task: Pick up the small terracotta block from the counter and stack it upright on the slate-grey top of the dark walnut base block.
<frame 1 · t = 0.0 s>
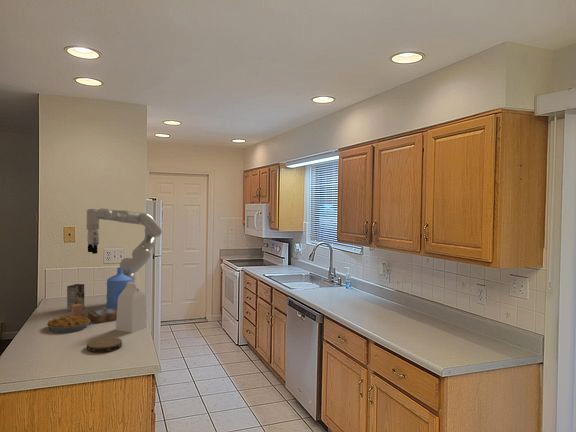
hand: (92, 252, 294), 37 cm above the table, tool pointing down, fingers open, 9 cm apart
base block: (105, 318, 268), on the table
pie: (69, 328, 248), on the table
terracotta block: (76, 316, 272), on the table
water jug: (119, 310, 289), on the table
milk: (131, 329, 249), on the table
brown round disc: (104, 348, 216), on the table
coffee box: (75, 309, 288), on the table
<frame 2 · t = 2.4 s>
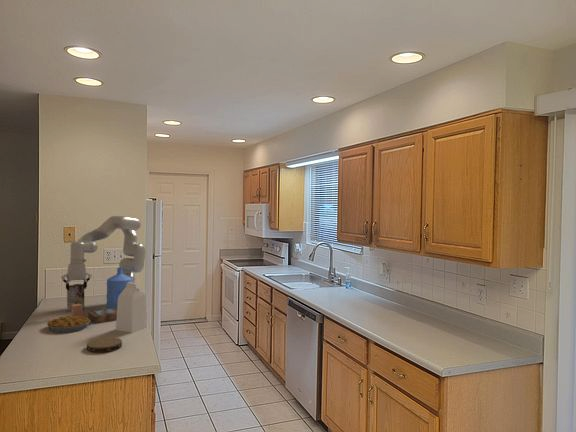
hand: (76, 289, 271), 17 cm above the table, tool pointing down, fingers open, 9 cm apart
nothing on the table moved.
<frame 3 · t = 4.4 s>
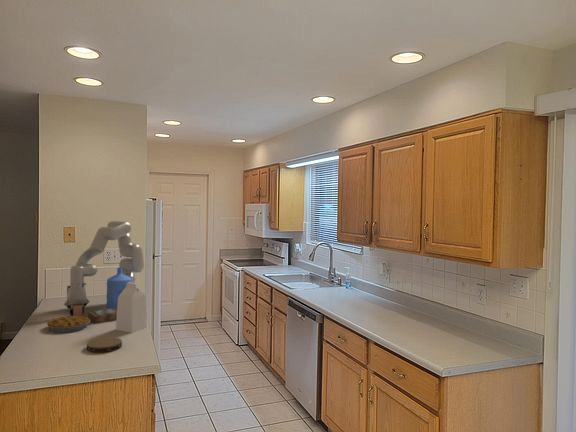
hand: (76, 314, 272), 1 cm above the table, tool pointing down, fingers closed on terracotta block, 5 cm apart
terracotta block: (76, 316, 272), on the table, touching gripper
everything else where it was.
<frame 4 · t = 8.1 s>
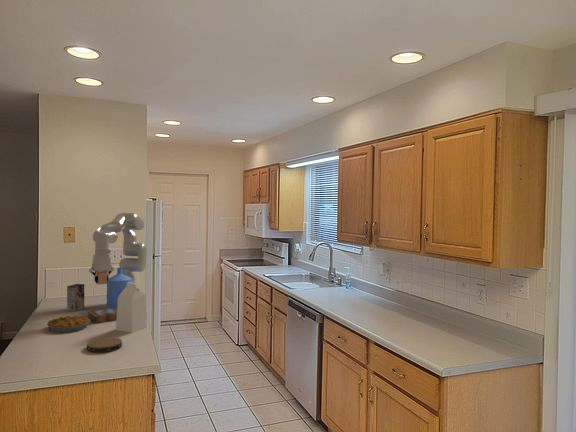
hand: (101, 281, 268), 22 cm above the table, tool pointing down, fingers closed on terracotta block, 5 cm apart
terracotta block: (101, 283, 268), point 21 cm above the table, touching gripper
everything else where it was.
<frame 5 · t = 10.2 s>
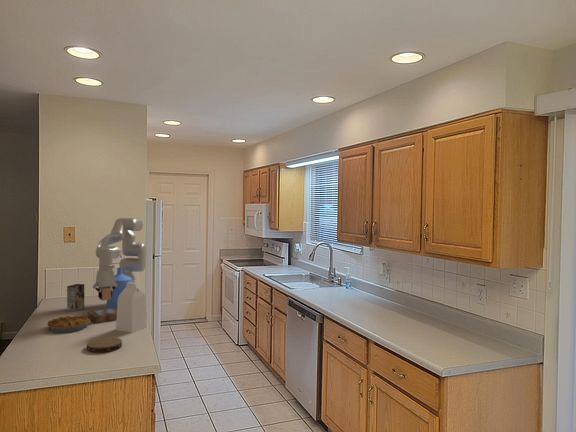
hand: (105, 297, 267), 13 cm above the table, tool pointing down, fingers closed on terracotta block, 5 cm apart
terracotta block: (105, 299, 267), point 12 cm above the table, touching gripper
everything else where it was.
when the fingers open (6 cm above the table, at t = 11.9 s): terracotta block stays where it is, resting on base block.
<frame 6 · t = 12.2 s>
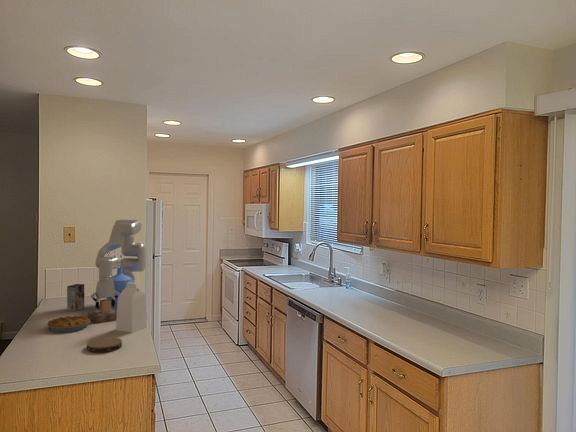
hand: (105, 307, 267), 7 cm above the table, tool pointing down, fingers open, 8 cm apart
terracotta block: (105, 311, 267), point 4 cm above the table, touching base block
everything else where it was.
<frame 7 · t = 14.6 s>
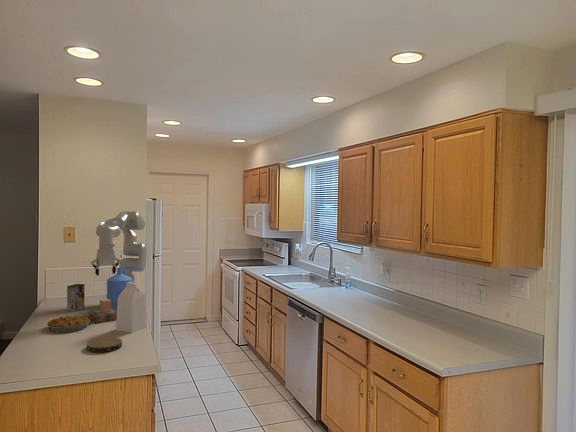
hand: (105, 274, 269), 27 cm above the table, tool pointing down, fingers open, 9 cm apart
nothing on the table moved.
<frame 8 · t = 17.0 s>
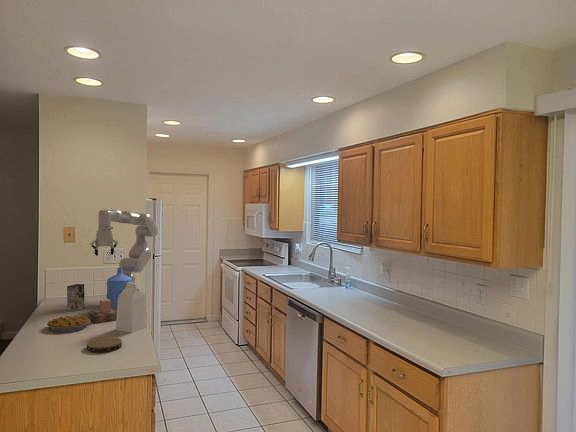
hand: (104, 255, 287), 36 cm above the table, tool pointing down, fingers open, 9 cm apart
nothing on the table moved.
at the end: terracotta block inside the target area on the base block (0.0 cm from its centre), point 4.4 cm above the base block's base; terracotta block tilted 0°; the gripper is holding nothing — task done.
